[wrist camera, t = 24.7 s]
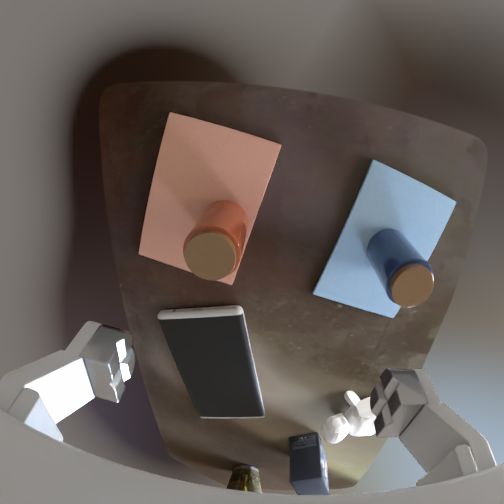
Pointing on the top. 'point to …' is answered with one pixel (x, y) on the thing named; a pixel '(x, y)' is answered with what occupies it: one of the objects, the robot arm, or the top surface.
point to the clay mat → (202, 182)
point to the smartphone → (214, 360)
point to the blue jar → (400, 268)
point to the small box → (308, 465)
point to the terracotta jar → (216, 241)
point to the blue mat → (371, 222)
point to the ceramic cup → (245, 479)
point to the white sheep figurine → (350, 420)
